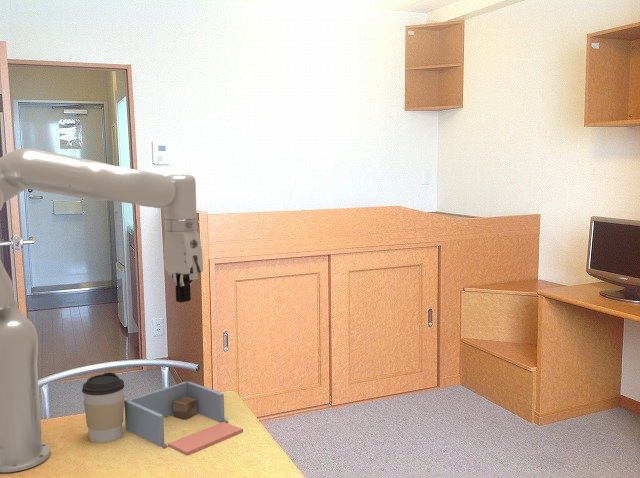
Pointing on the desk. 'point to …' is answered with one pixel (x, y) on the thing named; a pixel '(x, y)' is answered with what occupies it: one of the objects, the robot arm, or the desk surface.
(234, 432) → the tailgate
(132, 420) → the tray
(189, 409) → the cargo block
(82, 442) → the desk surface
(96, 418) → the coffee cup
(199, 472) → the desk surface
